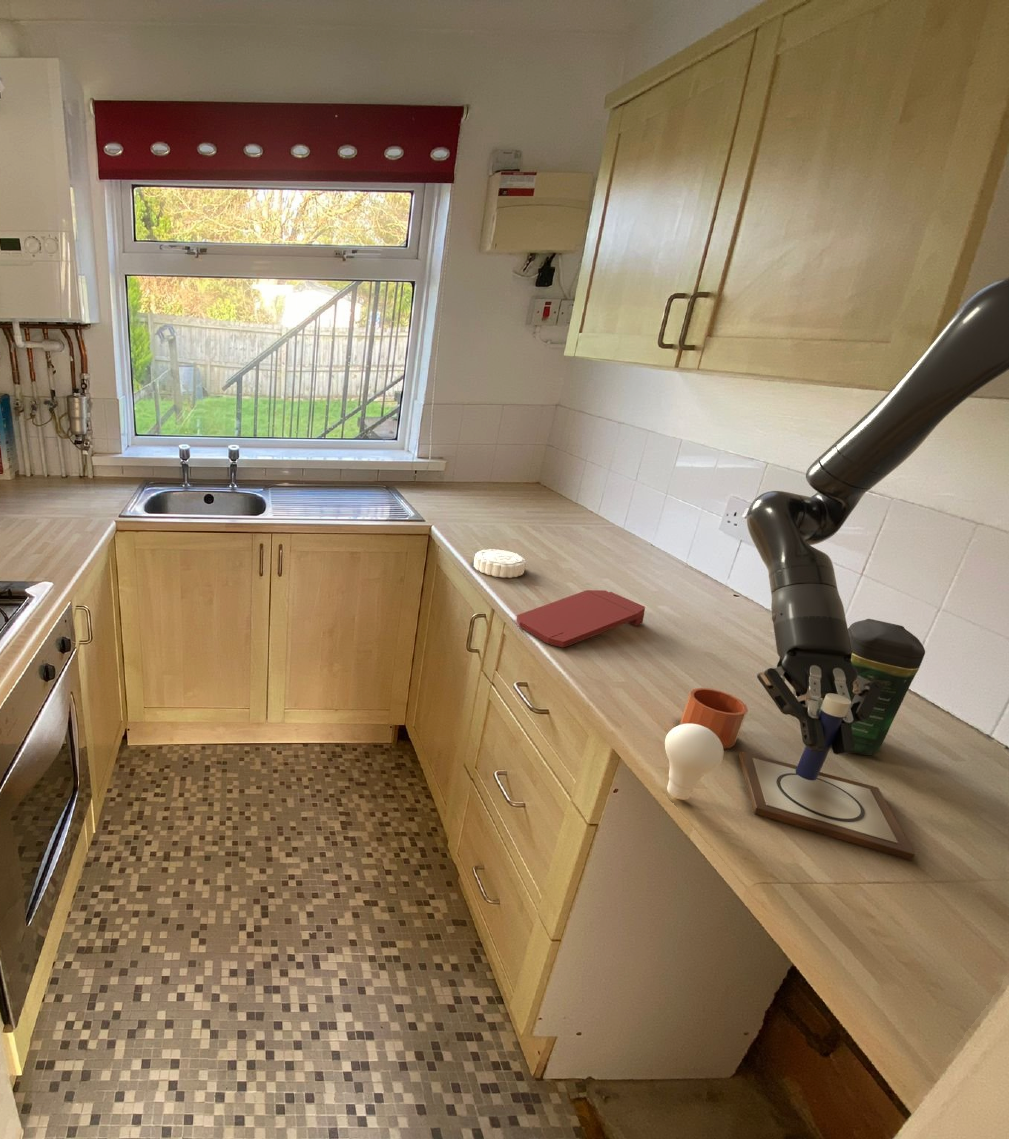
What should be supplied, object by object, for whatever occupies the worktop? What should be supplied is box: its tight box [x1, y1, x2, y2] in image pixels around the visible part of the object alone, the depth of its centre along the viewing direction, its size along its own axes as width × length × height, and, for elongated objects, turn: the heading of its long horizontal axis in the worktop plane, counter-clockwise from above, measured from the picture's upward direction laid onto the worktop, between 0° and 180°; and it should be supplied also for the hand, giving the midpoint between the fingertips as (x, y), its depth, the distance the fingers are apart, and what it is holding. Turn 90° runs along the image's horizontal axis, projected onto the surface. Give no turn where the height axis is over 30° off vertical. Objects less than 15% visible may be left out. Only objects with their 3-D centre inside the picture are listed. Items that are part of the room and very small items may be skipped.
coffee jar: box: [819, 618, 926, 756], centre depth 91 cm, size 10×8×19 cm
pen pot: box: [679, 687, 749, 750], centre depth 94 cm, size 7×7×6 cm
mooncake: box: [473, 548, 527, 579], centre depth 157 cm, size 12×12×4 cm
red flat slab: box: [516, 589, 646, 648], centre depth 128 cm, size 12×5×25 cm
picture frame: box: [738, 751, 916, 861], centre depth 81 cm, size 15×13×1 cm
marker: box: [796, 693, 851, 780], centre depth 81 cm, size 2×2×12 cm
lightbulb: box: [664, 724, 725, 801], centre depth 80 cm, size 6×6×11 cm
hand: (829, 751), depth 79 cm, fingers closed on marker, 2 cm apart
